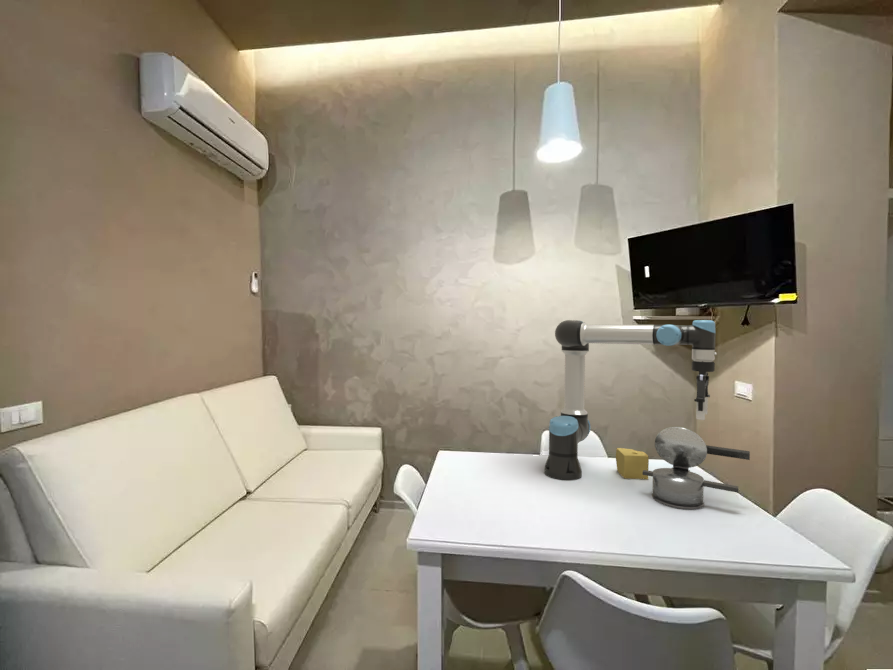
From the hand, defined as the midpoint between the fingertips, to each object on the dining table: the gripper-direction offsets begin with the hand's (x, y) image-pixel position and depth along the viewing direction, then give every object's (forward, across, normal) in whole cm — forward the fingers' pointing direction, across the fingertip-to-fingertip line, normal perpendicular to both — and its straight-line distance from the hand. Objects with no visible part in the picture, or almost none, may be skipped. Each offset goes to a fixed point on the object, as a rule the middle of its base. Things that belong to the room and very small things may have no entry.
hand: (701, 416), depth 165 cm
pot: (+28, -16, +3) cm, 32 cm away
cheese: (+28, +2, +25) cm, 38 cm away
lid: (+11, -11, 0) cm, 16 cm away
